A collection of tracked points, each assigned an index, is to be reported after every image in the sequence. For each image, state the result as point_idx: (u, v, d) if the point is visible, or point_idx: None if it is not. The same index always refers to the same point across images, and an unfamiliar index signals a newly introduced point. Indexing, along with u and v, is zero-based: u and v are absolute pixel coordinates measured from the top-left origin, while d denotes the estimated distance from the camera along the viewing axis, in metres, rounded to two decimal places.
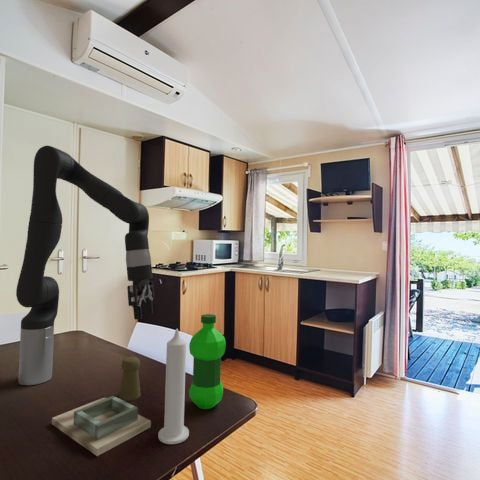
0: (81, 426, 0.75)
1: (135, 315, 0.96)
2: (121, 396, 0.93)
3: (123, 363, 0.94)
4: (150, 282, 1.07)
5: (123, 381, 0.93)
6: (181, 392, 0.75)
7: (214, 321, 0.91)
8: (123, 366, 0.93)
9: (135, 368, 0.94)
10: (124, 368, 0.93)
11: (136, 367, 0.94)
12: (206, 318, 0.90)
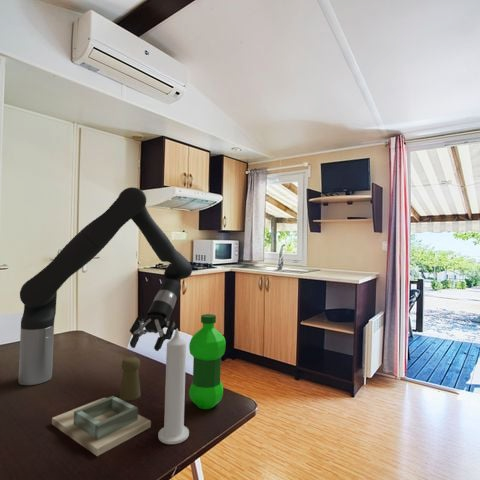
0: (81, 426, 0.75)
1: (159, 345, 1.01)
2: (121, 396, 0.93)
3: (123, 363, 0.94)
4: None
5: (123, 381, 0.93)
6: (181, 392, 0.75)
7: (214, 321, 0.91)
8: (123, 366, 0.93)
9: (135, 368, 0.94)
10: (124, 368, 0.93)
11: (136, 367, 0.94)
12: (206, 318, 0.90)
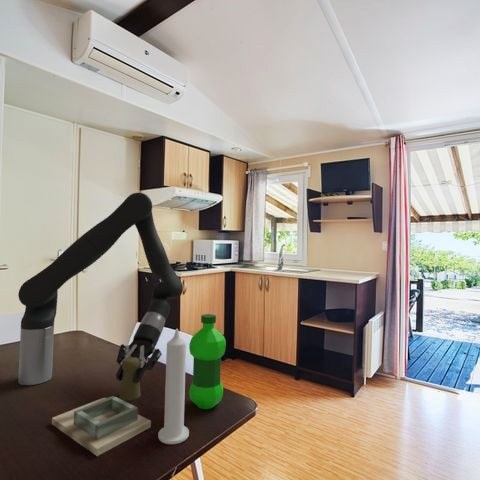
0: (81, 426, 0.75)
1: (139, 377, 0.93)
2: (121, 396, 0.93)
3: (123, 363, 0.94)
4: None
5: (123, 381, 0.93)
6: (181, 392, 0.75)
7: (214, 321, 0.91)
8: (123, 366, 0.93)
9: (135, 368, 0.94)
10: (124, 368, 0.93)
11: (136, 367, 0.94)
12: (206, 318, 0.90)
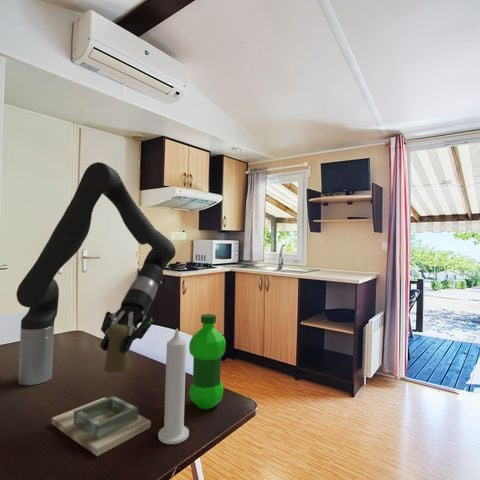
0: (81, 426, 0.75)
1: (127, 346, 0.81)
2: (106, 368, 0.80)
3: (109, 330, 0.81)
4: None
5: (109, 351, 0.81)
6: (181, 392, 0.75)
7: (214, 321, 0.91)
8: (109, 333, 0.81)
9: (123, 336, 0.81)
10: (110, 336, 0.81)
11: (124, 335, 0.82)
12: (206, 318, 0.90)
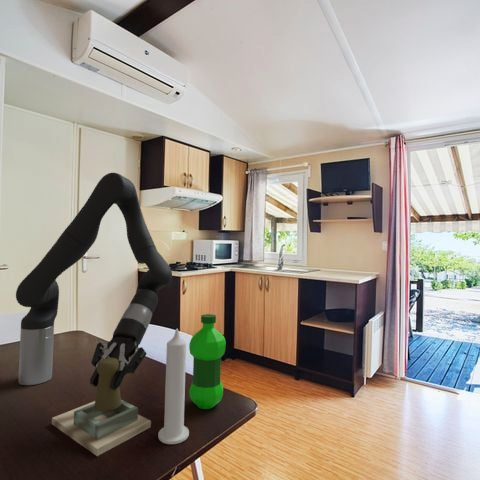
0: (81, 426, 0.75)
1: (118, 382, 0.76)
2: (96, 406, 0.76)
3: (98, 365, 0.77)
4: None
5: (99, 387, 0.76)
6: (181, 392, 0.75)
7: (214, 321, 0.91)
8: (98, 369, 0.76)
9: (113, 371, 0.77)
10: (99, 371, 0.76)
11: (114, 370, 0.77)
12: (206, 318, 0.90)
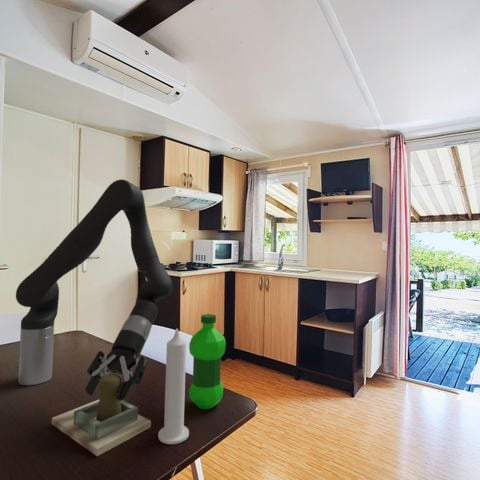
0: (81, 426, 0.75)
1: (124, 393, 0.76)
2: None
3: (100, 382, 0.77)
4: None
5: (100, 404, 0.76)
6: (181, 392, 0.75)
7: (214, 321, 0.91)
8: (100, 386, 0.76)
9: (115, 389, 0.77)
10: (101, 389, 0.76)
11: (116, 387, 0.77)
12: (206, 318, 0.90)
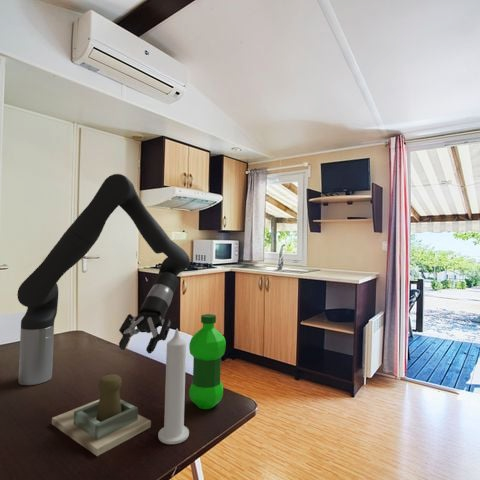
0: (81, 426, 0.75)
1: (152, 347, 0.88)
2: None
3: (100, 382, 0.77)
4: None
5: (100, 405, 0.76)
6: (181, 392, 0.75)
7: (214, 321, 0.91)
8: (100, 386, 0.76)
9: (115, 389, 0.77)
10: (101, 389, 0.76)
11: (116, 387, 0.77)
12: (206, 318, 0.90)
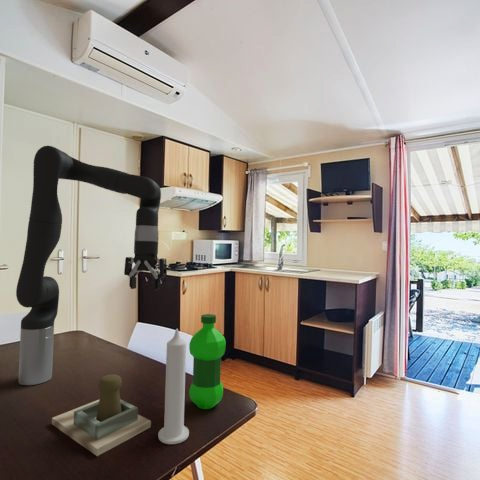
0: (81, 426, 0.75)
1: (158, 286, 1.04)
2: None
3: (100, 382, 0.77)
4: None
5: (100, 405, 0.76)
6: (181, 392, 0.75)
7: (214, 321, 0.91)
8: (100, 386, 0.76)
9: (115, 389, 0.77)
10: (101, 389, 0.76)
11: (116, 387, 0.77)
12: (206, 318, 0.90)
